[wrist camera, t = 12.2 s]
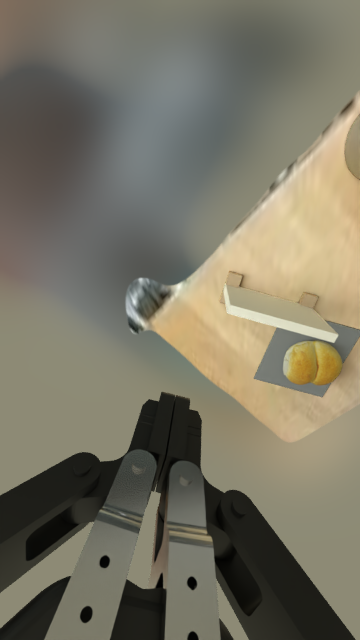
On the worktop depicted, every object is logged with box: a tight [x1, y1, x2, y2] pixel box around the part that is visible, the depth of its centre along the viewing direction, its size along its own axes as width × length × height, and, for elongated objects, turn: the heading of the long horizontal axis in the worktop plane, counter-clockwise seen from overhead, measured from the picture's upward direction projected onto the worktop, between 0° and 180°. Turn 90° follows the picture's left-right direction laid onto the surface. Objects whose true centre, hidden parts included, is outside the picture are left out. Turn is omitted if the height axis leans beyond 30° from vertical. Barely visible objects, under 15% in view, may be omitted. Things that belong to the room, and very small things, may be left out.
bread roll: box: [283, 340, 342, 386], centre depth 44 cm, size 8×9×4 cm
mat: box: [254, 321, 360, 397], centre depth 46 cm, size 14×13×1 cm
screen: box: [219, 271, 339, 343], centre depth 38 cm, size 5×14×10 cm, turn 75°
